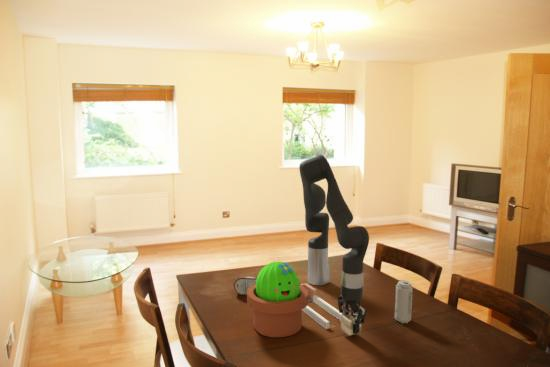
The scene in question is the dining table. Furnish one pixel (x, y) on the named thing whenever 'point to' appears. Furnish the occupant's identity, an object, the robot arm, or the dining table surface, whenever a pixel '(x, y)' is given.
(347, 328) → the block
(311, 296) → the rail channel
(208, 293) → the dining table surface
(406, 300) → the energy drink can
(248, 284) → the tin
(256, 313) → the potted cactus
